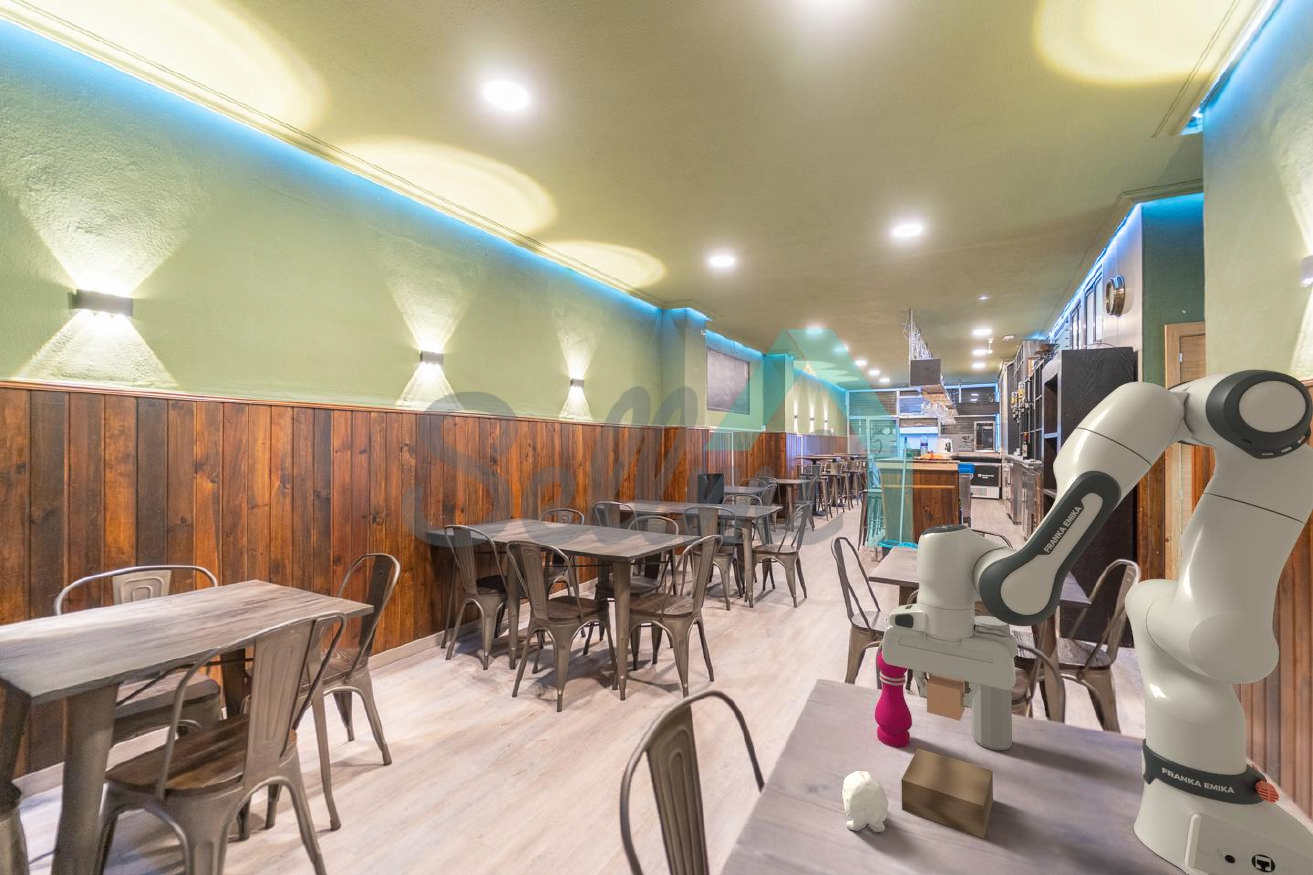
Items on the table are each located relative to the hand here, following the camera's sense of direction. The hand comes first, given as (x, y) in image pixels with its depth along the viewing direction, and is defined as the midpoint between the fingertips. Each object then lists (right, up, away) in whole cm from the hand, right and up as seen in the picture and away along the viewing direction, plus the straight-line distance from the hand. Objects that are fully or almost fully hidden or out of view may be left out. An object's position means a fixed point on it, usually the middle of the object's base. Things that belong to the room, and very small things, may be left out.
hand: (945, 701), depth 97 cm
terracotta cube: (0, -2, 0) cm, 2 cm away
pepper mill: (0, -18, +21) cm, 28 cm away
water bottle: (+20, -18, +20) cm, 33 cm away
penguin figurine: (-16, -18, -3) cm, 24 cm away
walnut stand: (0, -17, 0) cm, 17 cm away
